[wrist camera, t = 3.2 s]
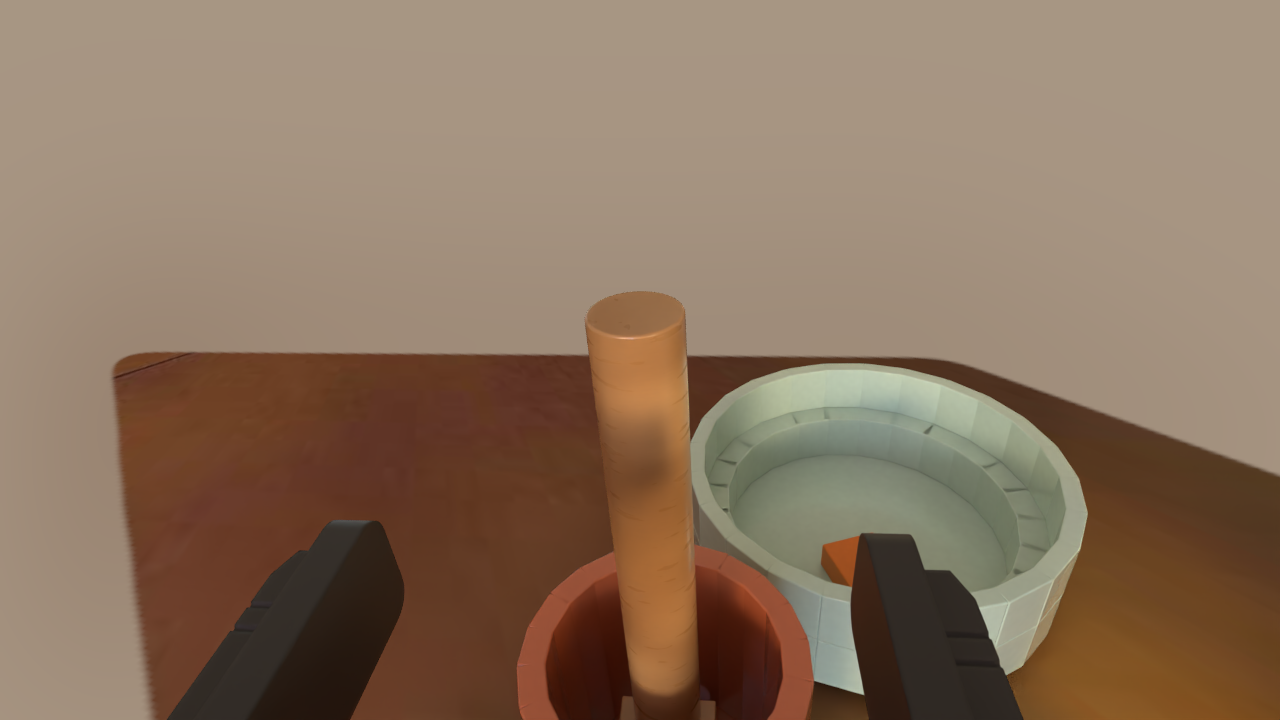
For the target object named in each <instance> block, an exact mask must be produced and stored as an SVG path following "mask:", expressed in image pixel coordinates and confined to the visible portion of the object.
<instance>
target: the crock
mask: <svg viewBox="0 0 1280 720" xmlns="http://www.w3.org/2000/svg"><path fill="white" fill-rule="evenodd" d="M694 551H695V577H696V602H697V628H698V654H699V679H700V700H704V701H715V702H716V720H810V716H811V707H812V698H813V689H814V675H813V667H812V659H811V651H810V644H809V641H808V637H807V635H806V633H805V631H804V629H803V627H802V625H801V623H800V621H799V619H798V617H797V615H796V613H795V611H794V609H793V607H792V605H791V604H790V603H789V601H788V600H787V599H786V598H785V597H784V596H783V595H782V594H781V593H780V592H779V590H778V589H777V588H776V587H775V586H774V585H773V584H772V583H771V582H770V581H769V580H768V579H767V578H766V577H765V576H764V575H762V574H761V573H760V572H758V571H757V570H755V569H753V568H752V567H750V566H748V565H746V564H745V563H743V562H741V561H739V560H738V559H736V558H734V557H733V556H731V555H728V553H724V552H721V551H717V550H713V549H710V548H706V547H702V546H699V545H695V544H694ZM516 671H517V688H518V705H519V710H520V715H521V719H522V720H619V719H620V711H621V703H622V697H623V696H632V688H631V680H630V672H629V665H628V657H627V649H626V641H625V633H624V625H623V617H622V610H621V602H620V594H619V586H618V578H617V570H616V563H615V555H614V552H611V553H609V554H607V555H605V556H603V557H601V558H599V559H597V560H595V561H593V562H591V563H588V564H586V565H584V566H582V567H581V568H578V569H577V570H576V571H575V572H574V573H573V574H571V575H570V576H569V577H568V578H567V579H566V580H564V581H563V582H562V583H561V584H560V585H559V586H557V587H556V588H555V589H554V590H553V591H551V593H550V594H549V595H548V597H547V598H546V600H545V601H544V603H543V604H542V606H541V607H540V609H539V610H538V612H537V613H536V615H535V616H534V618H533V620H532V621H531V623H530V624H529V627H528V628H527V631H526V635H525V638H524V642H523V645H522V649H521V652H520V656H519V659H518V663H517V670H516Z"/></svg>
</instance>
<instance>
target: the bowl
mask: <svg viewBox="0 0 1280 720" xmlns="http://www.w3.org/2000/svg"><path fill="white" fill-rule="evenodd" d="M690 449H691V474H692V500H693V526H694V544H695V545H699V546H702V547H706V548H710V549H713V550H717V551H721V552H724V553H728V555H731V556H733V557H734V558H736V559H738V560H739V561H741V562H743V563H745V564H746V565H748V566H750V567H752V568H753V569H755V570H757V571H758V572H760V573H761V574H762V575H764V576H765V577H766V578H767V579H768V580H769V581H770V582H771V583H772V584H773V585H774V586H775V587H776V588H777V589H778V590H779V592H780V593H781V594H782V595H783V596H784V597H785V598H786V599H787V600H788V601H789V603H790V604H791V605H792V607H793V609H794V611H795V613H796V615H797V617H798V619H799V621H800V623H801V625H802V627H803V629H804V631H805V633H806V635H807V637H808V641H809V644H810V651H811V659H812V667H813V675H814V681H816V682H820V683H823V684H827V685H830V686H834V687H837V688H841V689H844V690H848V691H851V692H855V693H858V694H862V695H864V690H863V685H862V680H861V675H860V670H859V665H858V660H857V655H856V650H855V645H854V639H853V634H852V626H851V611H850V602H851V591H852V587H849V586H845V585H840V584H836V583H833V582H832V581H831V579H830V578H829V576H828V574H827V573H826V571H825V570H824V568H823V567H822V565H821V557H822V547H823V545H824V544H828V543H832V542H836V541H840V540H844V539H848V538H852V537H856V536H860V534H861V533H872V532H873V533H886V534H910V535H912V537H913V538H914V540H915V543H916V545H917V548H918V551H919V554H920V557H921V560H922V563H923V566H924V569H925V570H950V571H951V572H952V573H953V574H954V575H955V577H956V578H957V579H958V580H959V581H960V582H961V583H962V584H963V586H964V587H965V588H966V589H967V590H968V591H969V592H970V593H971V595H972V596H973V597H974V598H975V599H976V601H977V604H978V606H979V609H980V611H981V614H982V616H983V619H984V621H985V624H986V626H987V629H988V631H989V638H990V639H992V642H993V644H994V647H995V649H996V652H997V654H998V657H999V659H1000V666H1001V667H1002V668H1003V669H1004V672H1005V674H1006V675H1008V674H1009V673H1011V672H1013V671H1015V670H1017V669H1018V668H1020V667H1022V666H1023V665H1024V664H1025V662H1026V661H1027V660H1028V658H1029V657H1030V656H1031V655H1032V653H1033V652H1034V651H1035V650H1036V648H1037V647H1038V646H1039V644H1040V643H1041V642H1042V641H1043V639H1044V638H1045V637H1046V636H1047V634H1048V632H1049V629H1050V626H1051V624H1052V621H1053V619H1054V616H1055V613H1056V611H1057V608H1058V606H1059V603H1060V600H1061V598H1062V595H1063V592H1064V590H1065V587H1066V585H1067V582H1068V580H1069V577H1070V574H1071V572H1072V569H1073V567H1074V564H1075V561H1076V559H1077V556H1078V554H1079V551H1080V548H1081V544H1082V539H1083V535H1084V530H1085V525H1086V521H1087V516H1088V512H1087V508H1086V504H1085V500H1084V497H1083V493H1082V489H1081V485H1080V481H1079V478H1078V476H1077V475H1076V473H1075V472H1074V470H1073V469H1072V467H1071V466H1070V464H1069V463H1068V461H1067V460H1066V459H1065V457H1064V456H1063V454H1062V453H1061V451H1060V450H1059V448H1058V447H1057V446H1056V445H1055V444H1054V443H1053V442H1052V441H1051V440H1050V439H1049V438H1047V437H1046V436H1045V435H1044V434H1043V433H1042V432H1041V431H1039V430H1038V429H1037V428H1036V427H1035V426H1034V425H1033V424H1032V423H1030V422H1029V421H1028V420H1027V419H1025V418H1024V417H1023V416H1021V415H1019V414H1018V413H1016V412H1014V411H1013V410H1011V409H1009V408H1008V407H1006V406H1004V405H1003V404H1001V403H999V402H998V401H996V400H994V399H993V398H991V397H989V396H987V395H985V394H982V393H980V392H977V391H975V390H972V389H970V388H967V387H965V386H962V385H960V384H957V383H955V382H953V381H950V380H947V379H944V378H940V377H936V376H932V375H928V374H924V373H921V372H917V371H913V370H909V369H904V368H897V367H889V366H881V365H873V364H865V363H864V364H862V363H854V364H817V365H810V366H804V367H797V368H790V369H785V370H782V371H779V372H776V373H772V374H769V375H766V376H763V377H760V378H757V379H754V380H751V381H749V382H748V383H746V384H744V385H742V386H740V387H739V388H737V389H735V390H733V391H732V392H730V393H728V394H726V395H725V396H724V397H723V398H722V399H721V400H720V401H719V402H718V403H717V404H716V405H715V406H714V407H713V408H712V409H711V410H710V411H709V412H708V413H707V414H706V415H705V416H704V417H703V418H702V420H701V422H700V424H699V426H698V428H697V430H696V432H695V434H694V436H693V438H692V440H691V442H690Z"/></svg>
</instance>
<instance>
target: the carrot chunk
mask: <svg viewBox="0 0 1280 720" xmlns="http://www.w3.org/2000/svg"><path fill="white" fill-rule="evenodd" d="M872 533H873V532H872ZM858 541H859V536H856V537H852V538H848V539H844V540H840V541H836V542H832V543H828V544H824V545H823V547H822V557H821V565H822V567H823V568H824V570H825V571H826V573H827V574H828V576H829V578H830V579H831V581H832V582H833V583H836V584H840V585H845V586H849V587H852V584H853V577H854V569H855V562H856V555H857V548H858Z"/></svg>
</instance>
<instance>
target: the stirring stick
mask: <svg viewBox="0 0 1280 720" xmlns="http://www.w3.org/2000/svg"><path fill="white" fill-rule="evenodd" d="M585 327H586V335H587V343H588V350H589V359H590V366H591V374H592V382H593V390H594V398H595V406H596V414H597V421H598V429H599V437H600V445H601V453H602V461H603V468H604V476H605V484H606V492H607V500H608V508H609V516H610V523H611V531H612V539H613V547H614V555H615V563H616V570H617V578H618V586H619V594H620V602H621V610H622V617H623V625H624V633H625V641H626V649H627V657H628V665H629V672H630V680H631V688H632V696H623V697H622V703H621V711H620V719H619V720H716V702H715V701H704V700H700V679H699V654H698V628H697V602H696V577H695V551H694V526H693V500H692V474H691V449H690V423H689V397H688V372H687V347H686V320H685V309H684V307H683V305H682V304H681V303H680V302H679V301H678V300H676V299H675V298H673V297H671V296H668V295H665V294H662V293H656V292H646V291H645V292H644V291H637V292H626V293H621V294H616V295H613V296H609V297H607V298H604V299H602V300H600V301H598V302H597V303H595V304H594V305H592V306H591V307H590V308H589V310H588V311H587V313H586V315H585Z"/></svg>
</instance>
